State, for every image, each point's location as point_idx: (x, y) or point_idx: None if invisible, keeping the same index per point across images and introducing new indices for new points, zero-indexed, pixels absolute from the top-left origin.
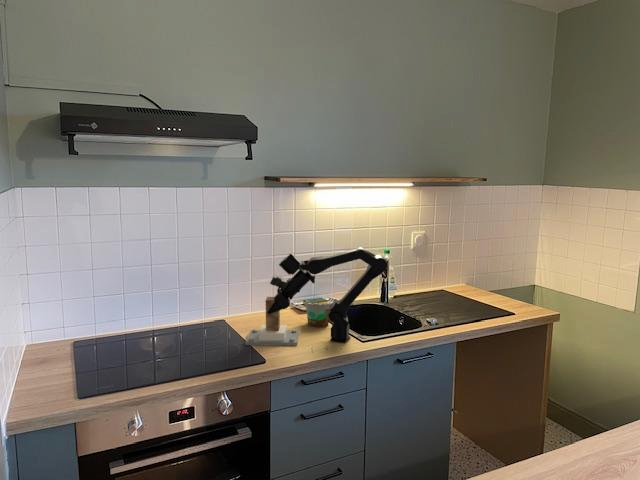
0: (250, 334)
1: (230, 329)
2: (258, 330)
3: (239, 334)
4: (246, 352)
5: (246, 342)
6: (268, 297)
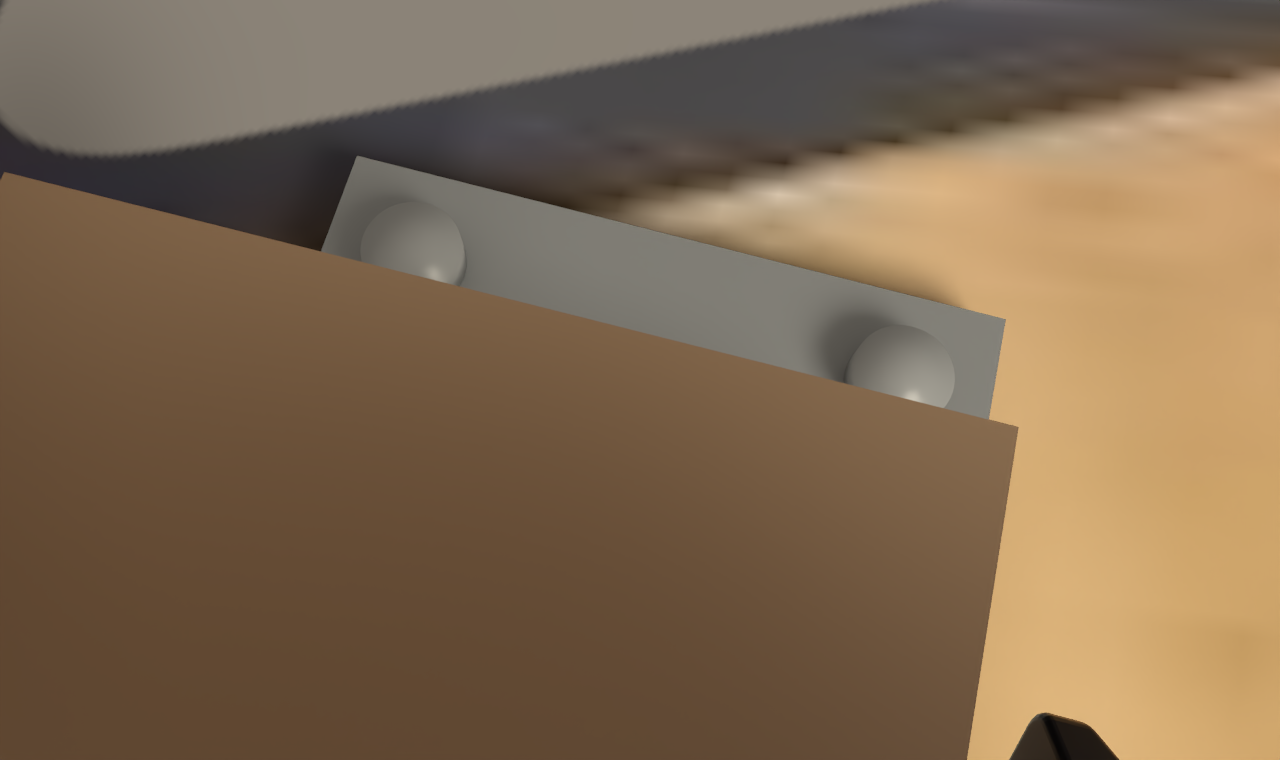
0: (751, 286)
1: (1222, 29)
2: None
3: (938, 143)
4: (27, 166)
5: (353, 178)
6: (766, 516)
